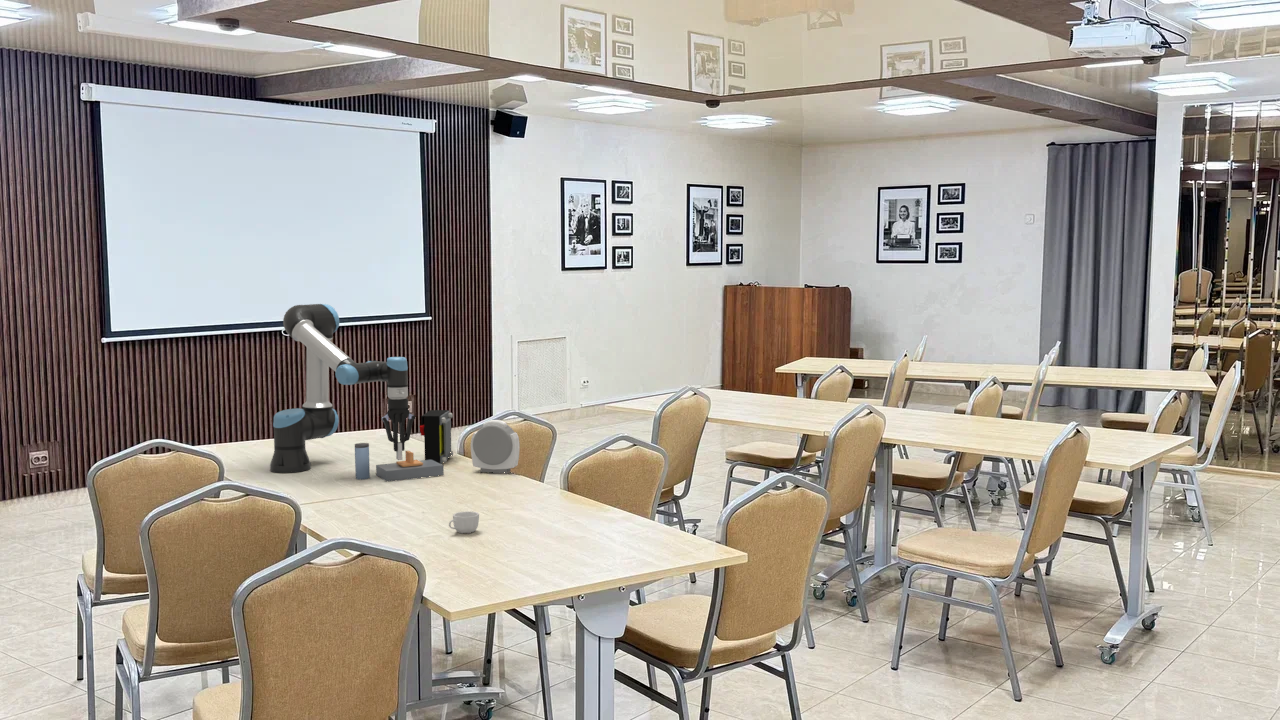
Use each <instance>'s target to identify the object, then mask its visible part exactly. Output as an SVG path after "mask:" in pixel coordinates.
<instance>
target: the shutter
mask: <svg viewBox="0 0 1280 720" xmlns="http://www.w3.org/2000/svg"><path fill="white" fill-rule="evenodd" d="M404 452H405V460H397V461H396V462H395V463H396V464H398V465H400V466H402V467H408V466H419V465H423V463H422V462H420V461H421V460H419V459H415V458H414V452H413V451H410V450H404Z"/></svg>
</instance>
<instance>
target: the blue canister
mask: <svg viewBox="0 0 1280 720" xmlns="http://www.w3.org/2000/svg"><path fill="white" fill-rule="evenodd" d="M354 466H355V467H354V468H355V470H354V471H355V473H354V474H355V479H356V480H360V479H361V480H369V479H370V478H371V473H370V469H371V468H370V444H369V443H368V442H358V443H354ZM368 478H369V479H368Z"/></svg>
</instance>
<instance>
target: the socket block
mask: <svg viewBox="0 0 1280 720" xmlns="http://www.w3.org/2000/svg"><path fill="white" fill-rule="evenodd" d="M419 461H420V462H422V463H423V465H419V466H408V467H402V466H400V465H398V464H396V462H393V463H392V462H391V463H383V464H375V475H376V476H377V477H378V476H379V479H382V480H383V479H384V481H385V482H387V481H388V482H396V481H395V480H397V481H405V480H404V479H407V480H414V479H413V478H417V479H422V478H421V477H426V478H430V477H429V476H436V477H439V476H438V475H444V473H445V472H444V471H445V470H444V464H440V463H438V462H435V461H433V460H425V459H423V460H419Z"/></svg>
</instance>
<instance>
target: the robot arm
mask: <svg viewBox="0 0 1280 720" xmlns="http://www.w3.org/2000/svg"><path fill="white" fill-rule="evenodd" d="M282 320H283V321H282V323H283V328H284V330H285V332H286V333H287V335H289V337H290V338H292V339H293V341H295V342H300V343H301V344H302V345H304V346H305V347H306V374H305V375H306V380H305V381H306V382H305V383H306V386H305V387H306V391H305V392H306V396H305V398H306V399H305V402H304V403H303V404H302V408H299V407H297V408H288V409H283V410H281V411H280V410H279V411H278V412H276V413H275V414H273V424H272V425H273V426H272V427H273V445H274V447H273V448H274V451H273V453H272V456H271V457H272V458H271V460H270V464H269V468H270V469H269V471H270V472H272V473H278V472H292V473H299V472H300V471H301V472H305V470H306V471H309V470H310V469H311V465H312V464H311V460H310V457H309V454H308V451H307V450H306V441H309V440H310V441H311V440H315V439H324V438H327V437H331V436H332V435H333V434H334V433H336V431H337V429H338V427H339V422H340V420H339V415H338V414H337V410H336V409H334V408H333V404H332V403H331V402H330V401H329V400H330V399H329V395H330V393H329V391H330V390H329V387H330V386H329V385H330V384H329V383H330V380H329V377H330V374H329V373H330V372H329V371H330V369H332V371H333V372H335V375H334V376H335V378H336V379H337V382H338V384H341V385H344V386H346V385H348V386H352V385H358V384H367V383H374V382H385V383H387V385H386V387H387V397H388V399H387V412H386V414H385V415H384V416H381V418H380V420H381V421H382V422H383V424H384V429H385V432H386V436H387V439H388V442H391V443H393V451H394V452H396V453H395V454H396V456H395V457H396V460H397V461H403V452H405V451H406V450H405V449H406V448H405V447H406V446H405V443H406V442H409V440H410V437H411V433H412V428H413V424H414V420H415V419H416V417H417V416H416V415H415V414H412V413H411V412H410V409H409V399H408V397H409V389H408V388H409V387H408V386H409V383H408V381H409V379H408V378H409V376H408V372H409V370H408V368H409V367H408V361H407V357H404V356H391V357H387V358H386V361H380V360H379V361H378V360H368V361H366V362H360V363H359V362H358V363H357V362H355V361H354V360H353V359H352V358H351V357H349V355H347V354H346V353H345V352H344V351H343V350H341V349H340V348H339V347H338V346H337V345H336V344H334V343H333V342H332V340H333V339H334V336H333V335H334V333H335V332H337V331H338V328H339V326H340V317H339V314H338V311H336V309H335V308H334V307H333V306H331V305H330V304H326V303H325V304H324V303H310V304H296V305H294V306H291V307H289V308H288V309H287V311H286V312H285V314H284V315H283V318H282ZM389 419H390V420H389ZM407 419H408V421H407V424H406V423H405V421H406V420H407ZM389 421H391V422H392V423H391V424H392V431H391V426H390V423H389ZM405 424H406V429H405ZM398 426H399V428H398Z"/></svg>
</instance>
